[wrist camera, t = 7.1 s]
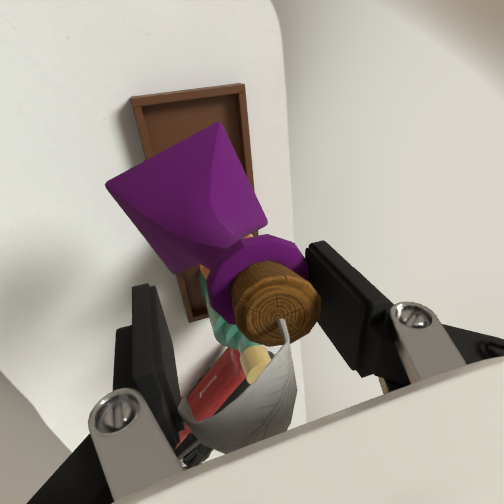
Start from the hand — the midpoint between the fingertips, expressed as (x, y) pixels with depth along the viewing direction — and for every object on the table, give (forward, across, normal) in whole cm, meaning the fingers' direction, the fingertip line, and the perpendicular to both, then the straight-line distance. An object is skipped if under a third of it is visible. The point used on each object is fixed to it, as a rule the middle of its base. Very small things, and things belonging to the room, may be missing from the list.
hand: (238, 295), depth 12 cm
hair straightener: (+29, +4, +47) cm, 56 cm away
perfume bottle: (+13, 0, 0) cm, 13 cm away
